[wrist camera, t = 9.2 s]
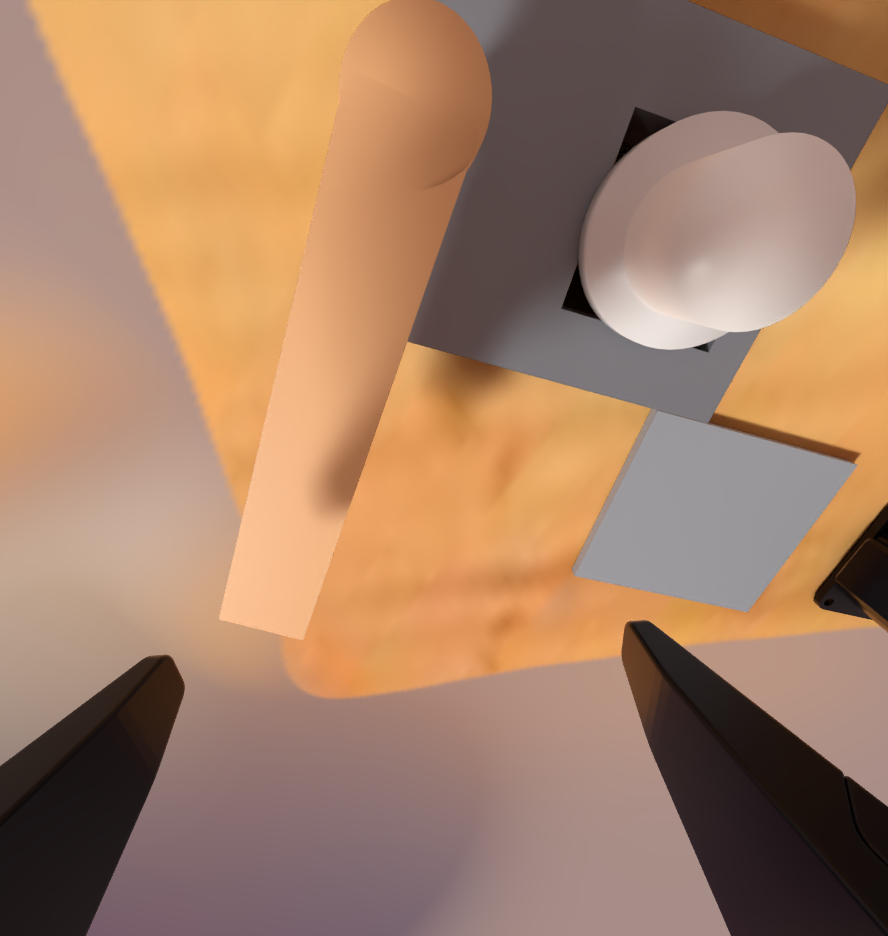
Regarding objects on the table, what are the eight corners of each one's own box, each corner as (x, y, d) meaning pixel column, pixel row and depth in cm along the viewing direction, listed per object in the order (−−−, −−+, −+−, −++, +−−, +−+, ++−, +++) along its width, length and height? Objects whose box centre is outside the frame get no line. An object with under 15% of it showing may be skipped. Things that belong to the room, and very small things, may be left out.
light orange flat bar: (315, 611, 14) (306, 641, 13) (232, 589, 14) (215, 618, 13) (506, 70, 8) (517, 44, 7) (373, 0, 8) (364, -39, 7)
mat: (848, 460, 21) (857, 465, 20) (741, 605, 24) (747, 612, 24) (652, 406, 19) (657, 410, 19) (571, 569, 23) (574, 575, 22)
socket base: (811, 117, 15) (1092, 19, 9) (668, 398, 19) (785, 472, 13) (432, -34, 13) (433, -297, 7) (366, 314, 17) (328, 352, 11)
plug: (751, 176, 16) (969, 127, 9) (669, 346, 18) (796, 397, 12) (593, 118, 15) (713, 21, 8) (530, 304, 17) (587, 337, 11)
